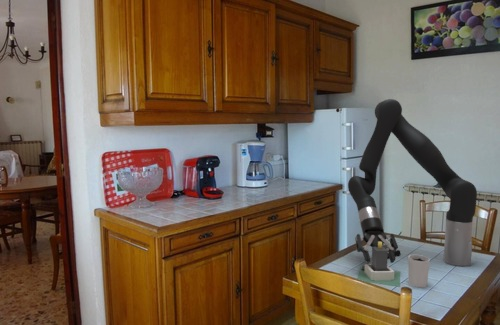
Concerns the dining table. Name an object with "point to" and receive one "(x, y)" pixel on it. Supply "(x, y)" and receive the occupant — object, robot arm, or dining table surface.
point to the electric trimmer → (397, 253)
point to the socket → (379, 274)
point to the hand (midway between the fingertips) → (380, 261)
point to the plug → (379, 258)
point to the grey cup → (418, 270)
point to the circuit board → (392, 283)
